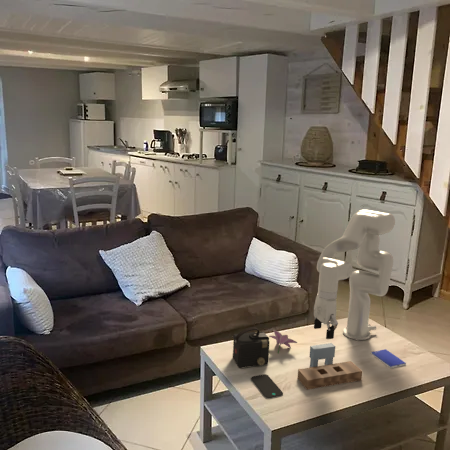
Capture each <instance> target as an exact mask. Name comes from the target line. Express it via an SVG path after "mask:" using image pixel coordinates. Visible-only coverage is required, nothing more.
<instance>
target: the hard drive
mask: <svg viewBox="0 0 450 450" xmlns="http://www.w3.org/2000/svg"><path fill="white" fill-rule="evenodd" d="M371 355H372V356H373V357H374V358H376V359H377V360H379V361H380V362H381V363H383V364H385V366H387V367H388V368H390V369H393V368H398V367H402V366H407V362H406V361H404V360H402V358H399V357H398V356H397V355H395V354H394V353H392V352H390V351H389V350H388V349H386V348H385V349H378V350H374V351H371Z"/></svg>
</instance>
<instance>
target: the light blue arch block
mask: <svg viewBox="0 0 450 450" xmlns="http://www.w3.org/2000/svg"><path fill="white" fill-rule="evenodd" d="M335 353H336V345H335V344H334V343H332V342H328V343H322V344H314V345H310V347H309V358H310V361H309V366H310V367H317V366H319V360H324V365H329V364H334V358H335V355H336V354H335Z"/></svg>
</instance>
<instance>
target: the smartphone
mask: <svg viewBox="0 0 450 450" xmlns="http://www.w3.org/2000/svg"><path fill="white" fill-rule="evenodd" d="M250 380H251V382H252V384H253V385H254V386H255V387H256V388H257V390H258V391H259V392H260V394H261V395H262V396H263V398H265V399H267V400H270V399H275V398H280V397H283V396H284V392H283V390H281V388H279V386H278V385H277V384H276V383H275V382H274V381H273V379H272V378H271V377H270V376H269V375H268V374H267V373H266V374H265V373H264V374H258V375H253V376H251V377H250Z"/></svg>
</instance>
